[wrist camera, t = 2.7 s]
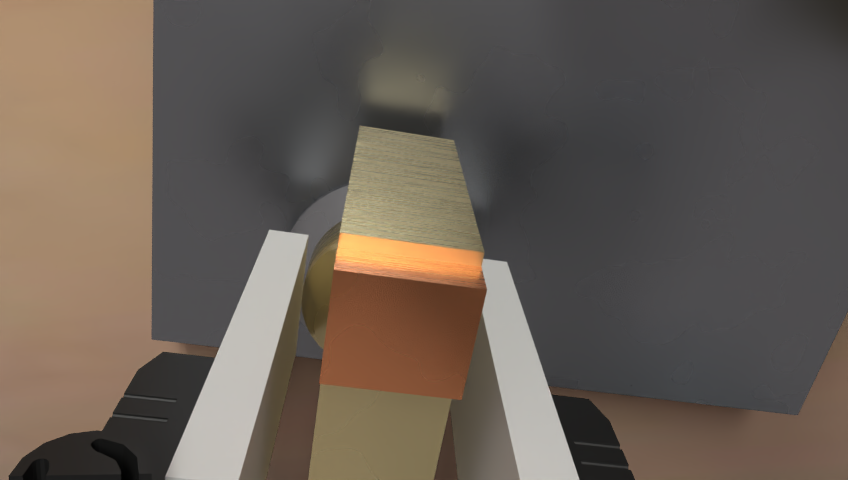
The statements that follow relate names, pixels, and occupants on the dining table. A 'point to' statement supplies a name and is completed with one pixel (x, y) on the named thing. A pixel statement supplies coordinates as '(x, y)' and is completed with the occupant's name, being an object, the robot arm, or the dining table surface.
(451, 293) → the knob
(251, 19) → the levelling plate
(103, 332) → the dining table surface
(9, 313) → the dining table surface
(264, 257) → the robot arm
